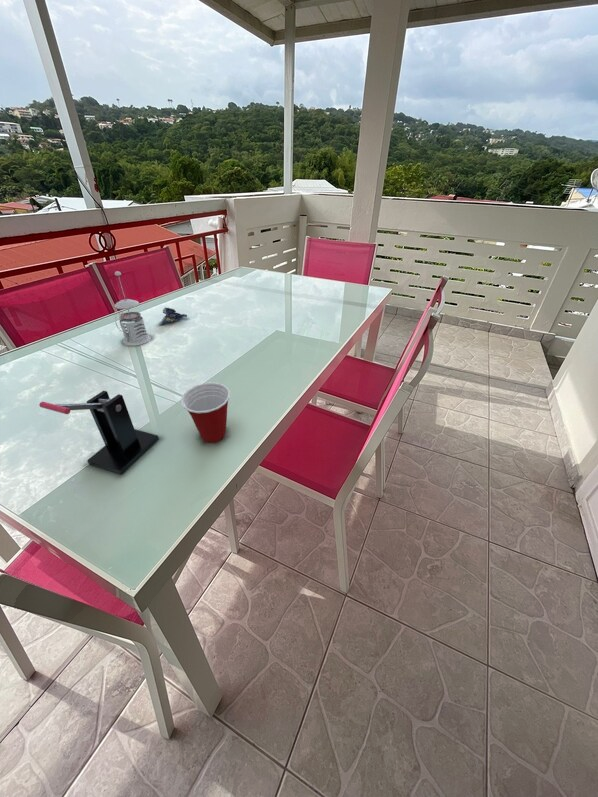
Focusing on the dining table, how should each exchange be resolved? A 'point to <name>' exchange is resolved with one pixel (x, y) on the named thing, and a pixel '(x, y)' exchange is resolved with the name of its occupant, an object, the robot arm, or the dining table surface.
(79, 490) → the dining table surface
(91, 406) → the lever
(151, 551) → the dining table surface
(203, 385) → the plastic cup
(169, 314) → the snack package
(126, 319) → the french press
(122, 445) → the bracket
